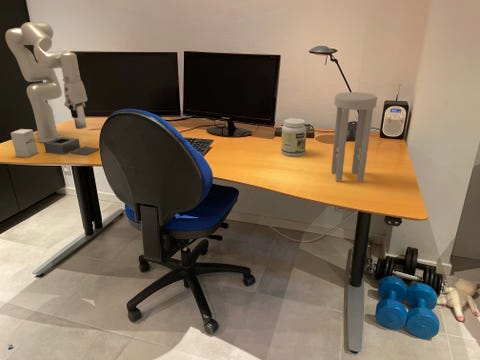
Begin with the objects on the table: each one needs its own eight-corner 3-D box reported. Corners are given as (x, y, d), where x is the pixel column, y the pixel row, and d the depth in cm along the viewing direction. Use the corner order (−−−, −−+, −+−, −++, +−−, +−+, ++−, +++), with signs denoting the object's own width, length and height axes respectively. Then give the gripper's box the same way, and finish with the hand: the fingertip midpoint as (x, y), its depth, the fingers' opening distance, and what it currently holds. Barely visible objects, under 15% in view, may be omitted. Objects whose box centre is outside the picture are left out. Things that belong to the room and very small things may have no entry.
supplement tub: (297, 159, 183) (299, 125, 176) (276, 154, 189) (277, 121, 183) (309, 152, 192) (311, 119, 185) (288, 147, 198) (290, 116, 192)
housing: (45, 152, 196) (43, 143, 194) (63, 145, 206) (61, 136, 204) (63, 154, 192) (61, 145, 190) (80, 147, 202) (78, 138, 200)
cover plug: (73, 128, 189) (68, 104, 185) (80, 125, 194) (76, 102, 189) (81, 129, 188) (77, 105, 183) (88, 126, 192) (84, 103, 187)
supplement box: (28, 157, 188) (22, 133, 183) (16, 156, 190) (9, 132, 185) (38, 152, 195) (33, 129, 190) (26, 151, 196) (20, 128, 191)
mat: (71, 153, 194) (70, 152, 193) (84, 147, 202) (84, 146, 202) (86, 155, 190) (86, 154, 190) (99, 149, 199) (99, 148, 199)
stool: (360, 170, 169) (370, 91, 155) (369, 184, 155) (381, 99, 141) (325, 169, 170) (332, 91, 155) (332, 183, 155) (340, 99, 141)
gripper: (64, 82, 173) (72, 121, 180) (90, 77, 187) (96, 113, 195) (52, 81, 175) (60, 119, 182) (78, 76, 190) (85, 112, 197)
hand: (79, 116), depth 188 cm, fingers closed on cover plug, 5 cm apart
